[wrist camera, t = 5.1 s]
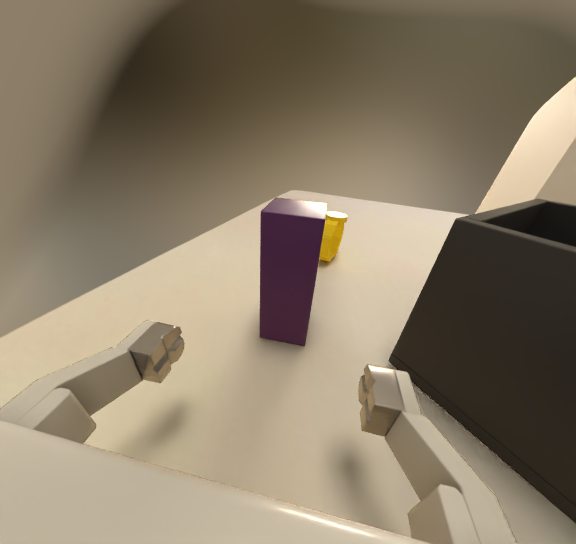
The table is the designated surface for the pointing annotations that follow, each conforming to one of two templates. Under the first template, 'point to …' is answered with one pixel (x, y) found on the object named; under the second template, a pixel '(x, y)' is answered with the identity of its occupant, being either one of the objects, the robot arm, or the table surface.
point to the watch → (332, 235)
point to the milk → (541, 157)
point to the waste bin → (505, 338)
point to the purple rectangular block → (289, 267)
